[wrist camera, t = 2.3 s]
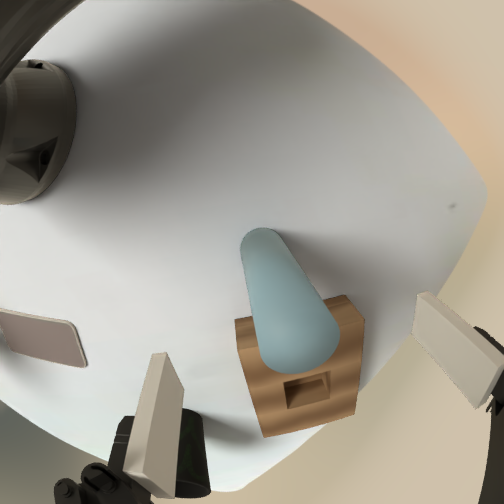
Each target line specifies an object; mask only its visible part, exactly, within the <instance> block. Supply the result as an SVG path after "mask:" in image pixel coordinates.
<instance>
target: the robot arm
mask: <svg viewBox="0 0 504 504" xmlns="http://www.w3.org/2000/svg"><path fill="white" fill-rule="evenodd" d="M83 1H85V0H0V204H2V205H14V204H18V203H21V202H24V201H27V200H30V199H32V198H34V197H36V196H38V195H39V194H41V193H42V192H43V191H44V190H46V189H47V188H48V187H49V186H50V184H51V183H52V182H53V181H54V179H55V178H56V177H57V175H58V173H59V172H60V170H61V168H62V166H63V164H64V162H65V160H66V158H67V155H68V153H69V150H70V147H71V144H72V140H73V136H74V131H75V124H76V98H75V93H74V89H73V86H72V83H71V81H70V79H69V78H68V76H67V75H66V73H65V72H64V71H63V70H62V69H60V68H59V67H57V66H55V65H53V64H50V63H48V62H46V61H42V60H35V59H32V60H24V61H21V60H22V58H23V57H24V56H25V55H26V54H27V53H28V52H29V51H30V49H31V48H32V47H33V46H34V45H35V44H36V43H37V42H38V41H39V40H40V39H41V38H42V37H43V36H44V35H45V34H46V33H47V32H48V31H49V30H50V29H51V28H52V27H53V26H54V25H56V24H57V23H58V22H59V21H60V20H61V19H62V18H64V17H65V16H66V15H67V14H68V13H70V12H71V11H72V10H73V9H74V8H76V7H77V6H78V5H80V4H81V3H82V2H83ZM411 335H412V336H413V337H414V338H415V339H416V340H417V341H418V342H419V343H420V345H421V346H422V347H423V348H424V349H425V350H426V351H427V352H428V353H429V355H430V356H431V357H432V358H433V359H434V360H435V361H436V363H437V364H438V365H439V366H440V367H441V368H442V369H443V371H444V372H445V373H446V374H447V375H448V376H449V378H450V379H451V380H452V381H453V382H454V384H455V385H456V386H457V387H458V388H459V390H460V391H461V392H462V393H463V394H464V396H465V397H466V398H467V399H468V401H469V402H470V403H471V404H472V406H473V407H474V408H475V409H477V408H479V407H480V406H481V405H483V404H484V403H485V402H486V401H487V399H488V398H489V396H490V394H492V395H493V396H494V397H493V399H492V400H491V402H490V404H489V406H488V407H487V409H486V412H488V410H489V409H490V407H491V406H492V409H491V411H490V412H491V431H490V441H489V450H488V458H487V464H486V471H485V476H484V481H483V486H482V491H481V494H480V498H479V502H478V504H504V347H503V346H501V344H499V343H498V342H497V341H495V339H494V338H493V337H490V335H489V334H488V333H487V332H486V331H484V330H483V329H481V328H479V327H476V326H475V327H471V326H470V325H469V324H468V323H467V322H466V321H465V320H463V319H462V318H461V317H460V316H459V315H457V314H456V313H455V312H454V311H453V310H451V309H450V308H449V307H448V306H446V305H445V304H444V303H443V302H441V301H440V300H439V299H438V298H436V297H435V296H434V295H433V294H431V293H430V292H429V291H425V292H422V293H419V294H417V301H416V308H415V315H414V321H413V327H412V333H411ZM183 397H184V388H183V386H182V384H181V382H180V380H179V378H178V376H177V374H176V372H175V369H174V367H173V365H172V363H171V361H170V359H169V357H168V354H167V352H164V353H156V354H152V357H151V360H150V364H149V367H148V370H147V374H146V377H145V381H144V384H143V388H142V392H141V395H140V399H139V403H138V407H137V411H136V414H135V416H124V418H123V419H122V420H121V422H120V423H119V424H118V428H117V431H116V436H115V439H114V444H113V446H112V450H111V454H110V458H109V462H108V466H106V465H104V464H102V463H92V464H89V465H87V466H86V467H85V468H84V469H83V471H82V473H81V481H82V483H81V484H77V483H76V482H74V481H73V480H71V479H69V478H64V479H61V480H59V481H58V482H57V483H56V484H55V487H54V497H55V503H56V504H154V503H153V502H152V501H151V500H150V497H151V494H153V495H154V496H155V497H157V498H168V499H174V498H175V484H176V469H177V457H178V445H179V434H180V424H181V414H182V405H183Z"/></svg>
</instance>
